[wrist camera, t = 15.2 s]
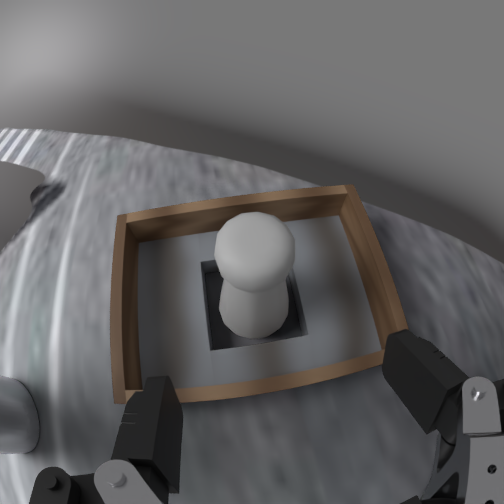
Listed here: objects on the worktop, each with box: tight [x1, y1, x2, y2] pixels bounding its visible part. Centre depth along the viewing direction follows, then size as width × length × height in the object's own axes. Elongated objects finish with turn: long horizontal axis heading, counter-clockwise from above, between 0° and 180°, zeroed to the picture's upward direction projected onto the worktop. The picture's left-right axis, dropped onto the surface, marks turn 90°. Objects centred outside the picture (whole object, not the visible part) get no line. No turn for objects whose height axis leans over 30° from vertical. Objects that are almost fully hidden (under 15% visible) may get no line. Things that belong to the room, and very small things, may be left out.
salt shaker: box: [214, 212, 295, 339], centre depth 20 cm, size 6×6×13 cm
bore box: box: [110, 185, 409, 404], centre depth 23 cm, size 22×16×6 cm
